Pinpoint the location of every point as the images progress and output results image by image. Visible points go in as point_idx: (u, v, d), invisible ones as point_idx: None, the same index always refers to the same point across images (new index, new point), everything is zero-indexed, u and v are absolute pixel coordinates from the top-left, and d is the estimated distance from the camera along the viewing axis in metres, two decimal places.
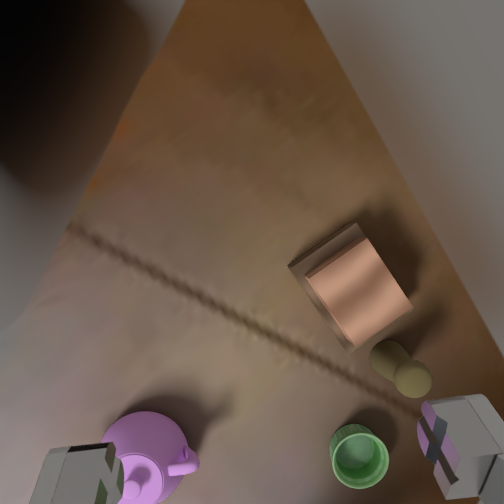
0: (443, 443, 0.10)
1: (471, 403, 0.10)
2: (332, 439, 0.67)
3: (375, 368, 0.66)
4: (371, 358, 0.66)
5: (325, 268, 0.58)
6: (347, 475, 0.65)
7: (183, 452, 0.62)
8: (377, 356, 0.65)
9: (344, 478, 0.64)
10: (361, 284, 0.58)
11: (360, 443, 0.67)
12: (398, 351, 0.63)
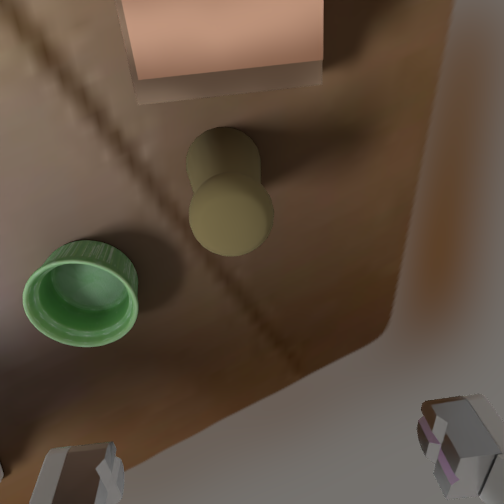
0: (443, 443, 0.10)
1: (471, 402, 0.10)
2: (54, 252, 0.34)
3: (188, 169, 0.31)
4: (191, 148, 0.31)
5: None
6: (54, 316, 0.35)
7: None
8: (200, 147, 0.30)
9: (43, 318, 0.35)
10: None
11: (107, 278, 0.37)
12: (242, 155, 0.28)
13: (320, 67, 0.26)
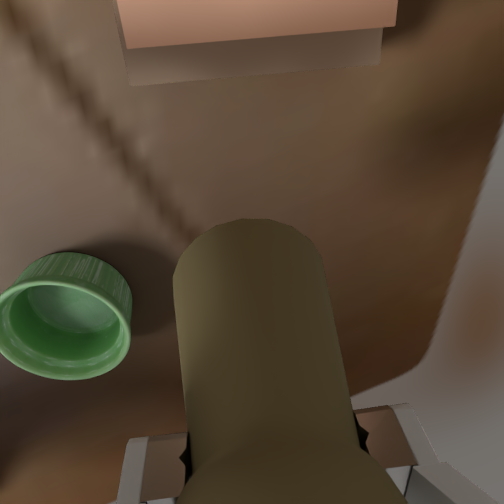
0: None
1: (396, 412, 0.10)
2: (30, 266, 0.28)
3: (175, 310, 0.15)
4: (183, 264, 0.15)
5: None
6: (30, 342, 0.29)
7: None
8: (203, 275, 0.13)
9: (15, 346, 0.28)
10: None
11: (94, 297, 0.30)
12: (305, 315, 0.11)
13: (379, 40, 0.19)
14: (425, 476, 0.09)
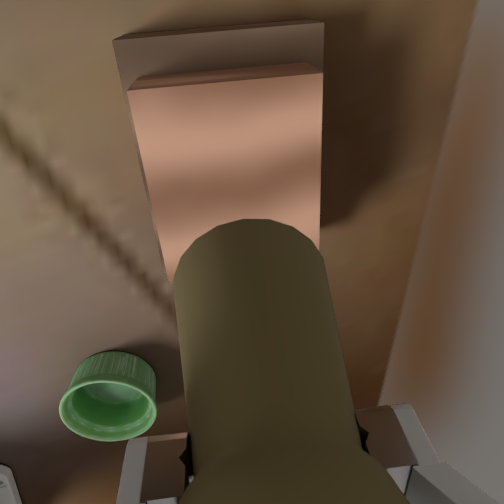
0: None
1: (396, 412, 0.10)
2: (85, 363, 0.40)
3: (176, 310, 0.14)
4: (184, 264, 0.15)
5: (181, 89, 0.21)
6: (84, 414, 0.41)
7: None
8: (204, 275, 0.13)
9: (74, 419, 0.40)
10: (246, 173, 0.23)
11: None
12: (306, 315, 0.11)
13: None
14: (425, 476, 0.09)
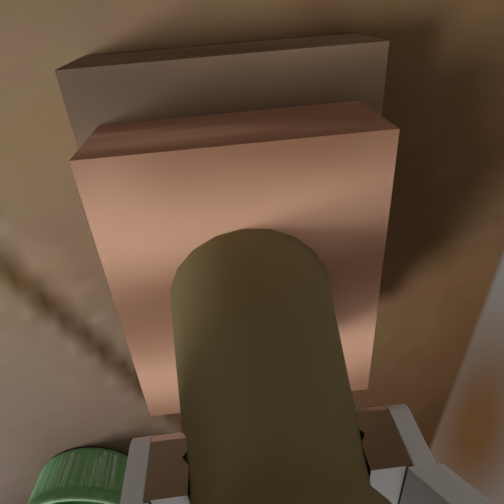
0: None
1: (391, 412, 0.10)
2: (52, 464, 0.31)
3: None
4: (181, 276, 0.14)
5: (163, 157, 0.12)
6: None
7: None
8: (202, 290, 0.12)
9: None
10: None
11: None
12: (309, 334, 0.11)
13: None
14: (421, 477, 0.09)
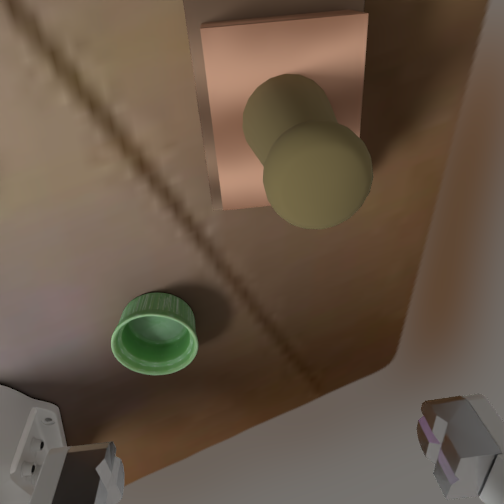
0: (443, 443, 0.10)
1: (471, 403, 0.10)
2: (133, 302, 0.44)
3: (247, 125, 0.26)
4: (251, 99, 0.26)
5: (246, 27, 0.24)
6: (131, 350, 0.45)
7: None
8: (266, 96, 0.24)
9: (123, 353, 0.44)
10: None
11: (170, 320, 0.46)
12: (321, 104, 0.23)
13: None
14: None
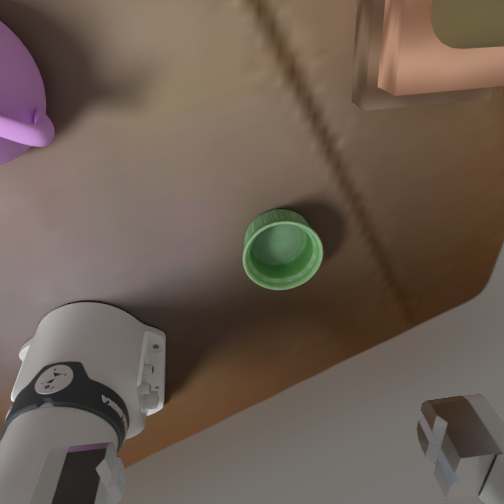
0: (443, 443, 0.10)
1: (471, 403, 0.10)
2: (260, 217, 0.46)
3: None
4: None
5: None
6: (254, 266, 0.47)
7: (32, 115, 0.35)
8: None
9: (250, 266, 0.46)
10: None
11: (289, 239, 0.48)
12: None
13: (492, 87, 0.38)
14: None
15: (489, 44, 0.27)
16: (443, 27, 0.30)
